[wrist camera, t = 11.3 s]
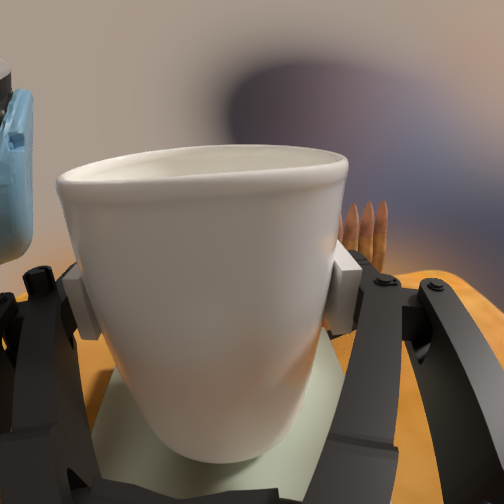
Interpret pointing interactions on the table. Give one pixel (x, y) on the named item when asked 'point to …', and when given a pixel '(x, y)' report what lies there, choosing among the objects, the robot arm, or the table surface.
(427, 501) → the table surface
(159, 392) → the white cup
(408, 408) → the table surface
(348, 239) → the ammunition clip
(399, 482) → the table surface
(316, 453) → the stand
